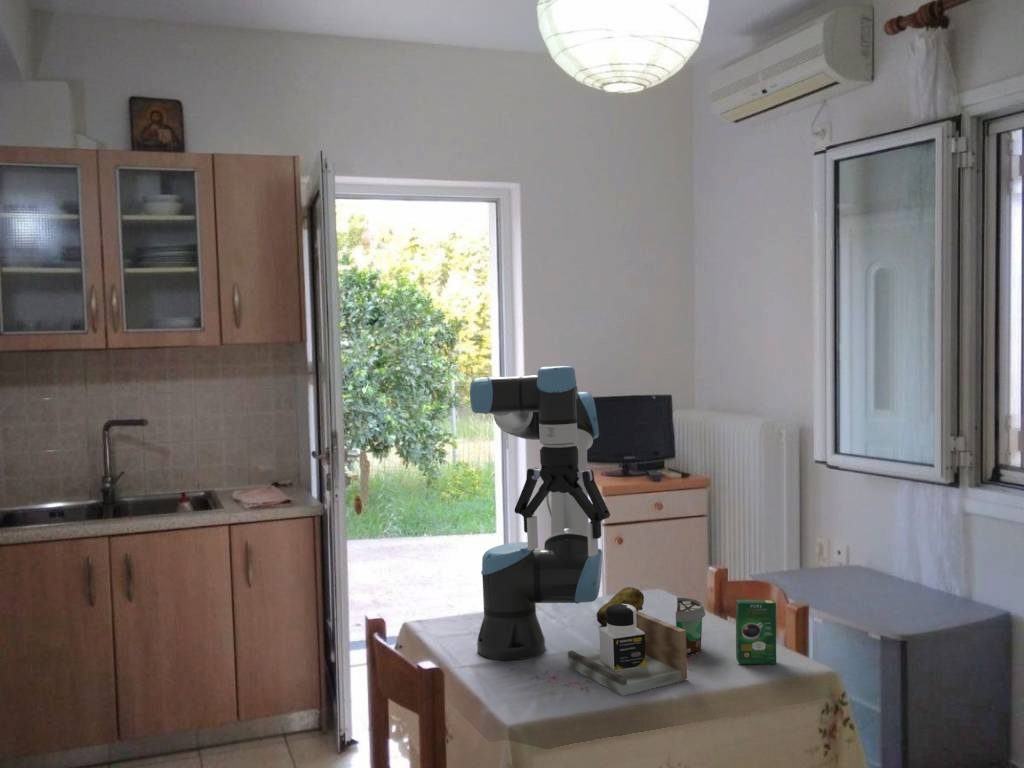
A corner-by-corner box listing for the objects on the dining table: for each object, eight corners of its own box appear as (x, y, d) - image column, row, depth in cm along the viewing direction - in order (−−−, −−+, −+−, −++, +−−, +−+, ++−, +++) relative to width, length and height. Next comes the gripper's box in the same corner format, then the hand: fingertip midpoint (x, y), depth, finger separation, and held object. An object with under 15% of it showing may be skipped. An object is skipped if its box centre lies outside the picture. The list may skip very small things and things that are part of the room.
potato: (589, 620, 229) (588, 588, 229) (638, 614, 233) (637, 582, 232) (600, 630, 221) (599, 596, 221) (651, 624, 224) (650, 591, 224)
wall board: (568, 666, 197) (566, 619, 197) (629, 652, 204) (627, 607, 204) (622, 695, 180) (621, 644, 179) (687, 679, 187) (685, 630, 186)
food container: (706, 659, 198) (705, 613, 198) (676, 658, 199) (675, 612, 199) (706, 641, 210) (705, 597, 210) (678, 640, 212) (677, 596, 211)
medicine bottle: (614, 672, 187) (612, 612, 186) (599, 661, 194) (597, 603, 193) (646, 667, 189) (644, 608, 189) (631, 656, 196) (629, 599, 195)
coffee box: (775, 660, 196) (773, 598, 196) (778, 664, 193) (776, 601, 193) (736, 660, 197) (734, 598, 196) (738, 665, 194) (736, 602, 193)
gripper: (495, 445, 188) (499, 550, 189) (607, 448, 174) (611, 561, 175) (515, 441, 194) (519, 543, 195) (624, 444, 181) (628, 553, 182)
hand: (562, 552), depth 185 cm, fingers open, 13 cm apart
